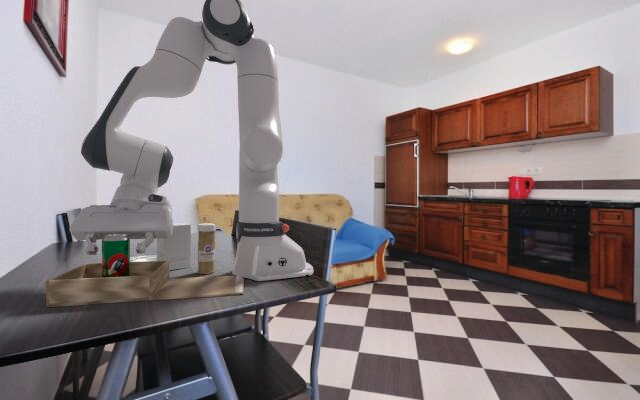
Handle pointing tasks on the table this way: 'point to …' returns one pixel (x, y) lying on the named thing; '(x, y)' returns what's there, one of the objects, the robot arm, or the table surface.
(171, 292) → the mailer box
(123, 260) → the soda can
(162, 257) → the supplement box
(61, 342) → the table surface
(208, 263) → the sprinkles bottle
